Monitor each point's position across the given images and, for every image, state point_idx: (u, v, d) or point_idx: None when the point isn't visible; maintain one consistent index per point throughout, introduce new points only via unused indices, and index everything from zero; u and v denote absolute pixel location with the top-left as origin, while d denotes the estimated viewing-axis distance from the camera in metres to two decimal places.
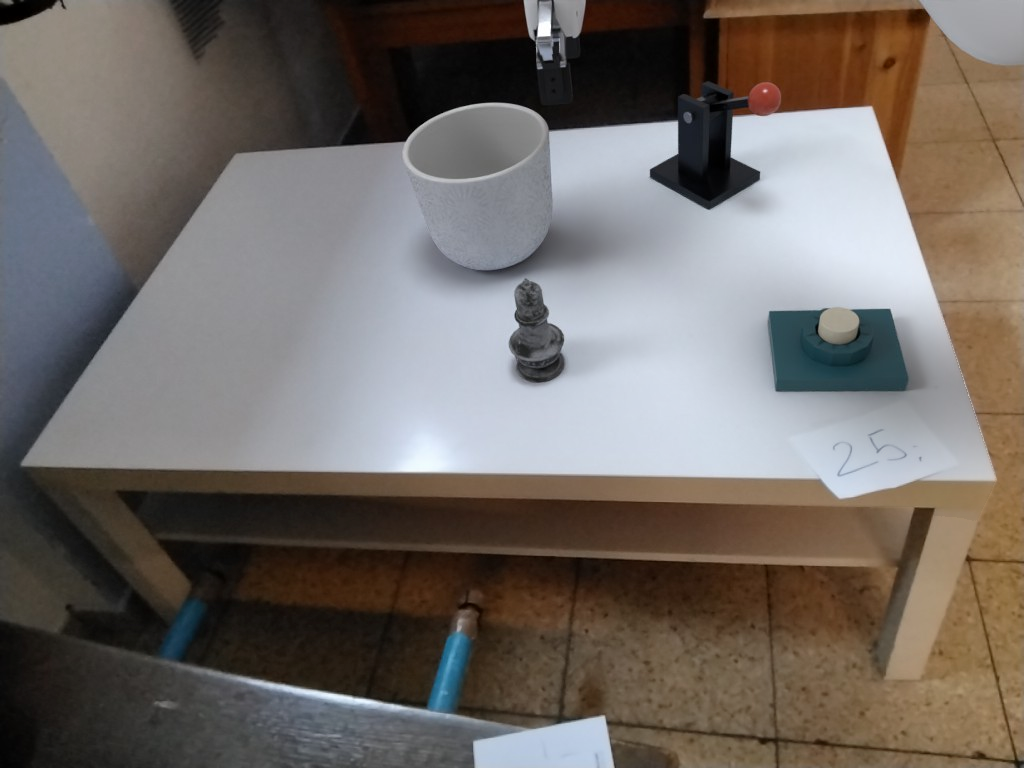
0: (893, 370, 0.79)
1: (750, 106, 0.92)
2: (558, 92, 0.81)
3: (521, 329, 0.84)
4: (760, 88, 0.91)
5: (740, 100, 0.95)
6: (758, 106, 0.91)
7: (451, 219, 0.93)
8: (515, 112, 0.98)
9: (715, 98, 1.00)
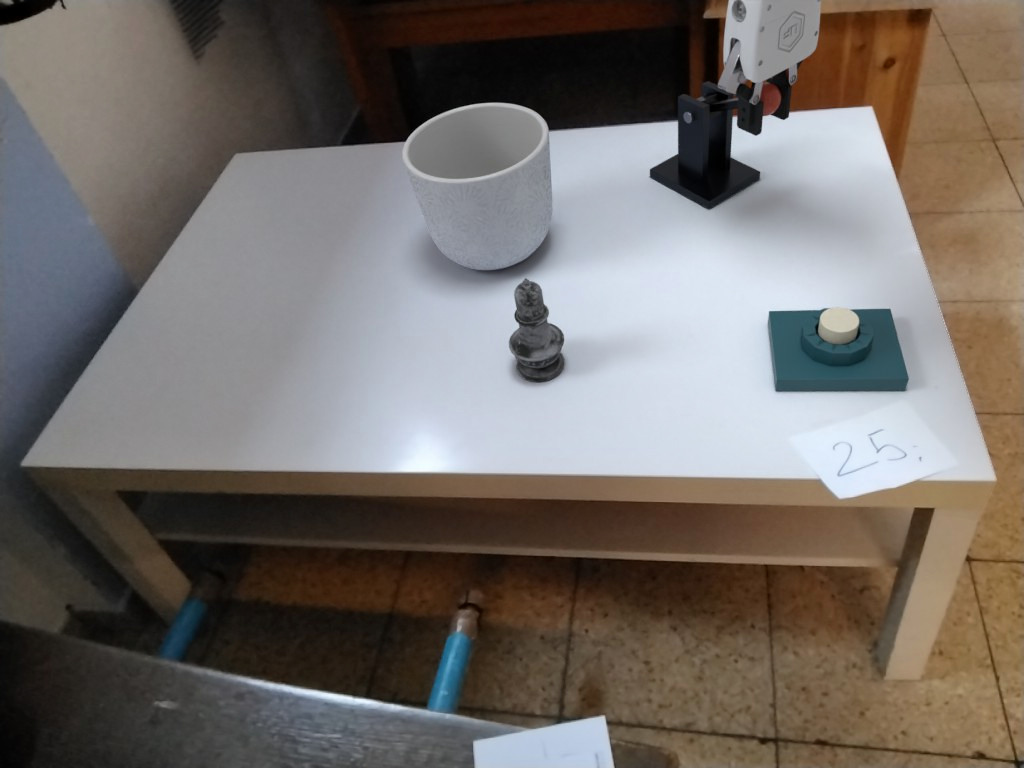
0: (893, 370, 0.79)
1: None
2: (746, 122, 0.92)
3: (521, 329, 0.84)
4: None
5: None
6: None
7: (451, 219, 0.93)
8: (514, 112, 0.98)
9: (715, 98, 1.00)
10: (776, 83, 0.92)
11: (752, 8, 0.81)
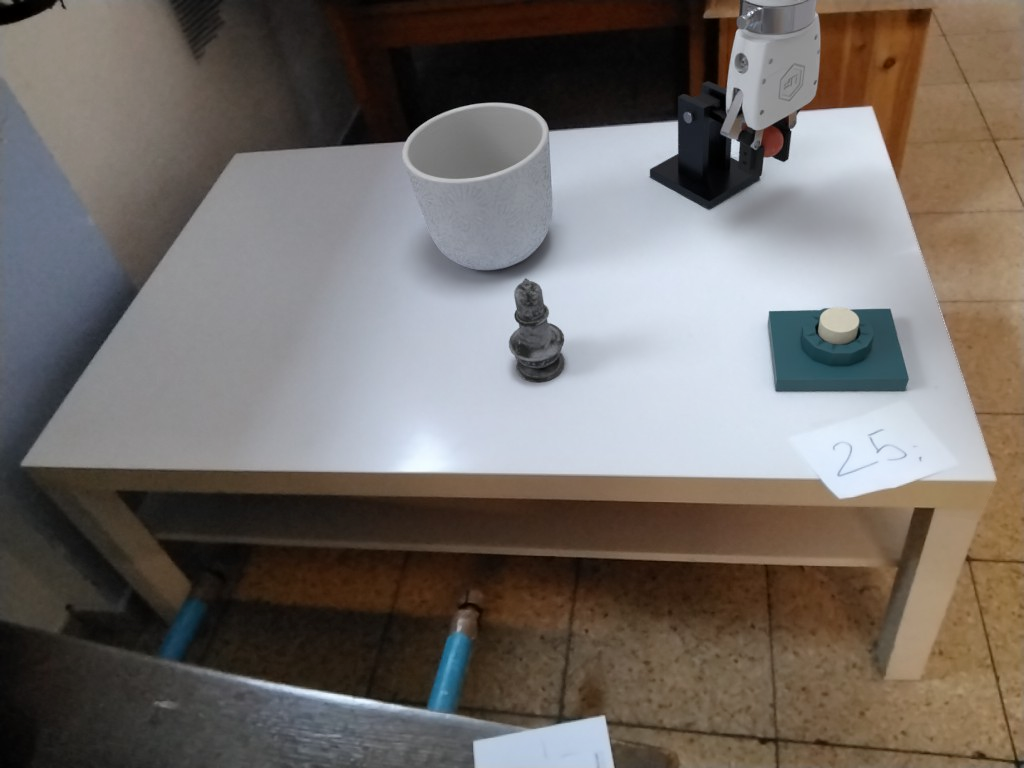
0: (893, 370, 0.79)
1: None
2: (747, 165, 0.96)
3: (521, 329, 0.84)
4: (768, 136, 0.94)
5: None
6: None
7: (451, 219, 0.93)
8: (514, 112, 0.98)
9: (718, 104, 1.00)
10: None
11: (754, 61, 0.85)
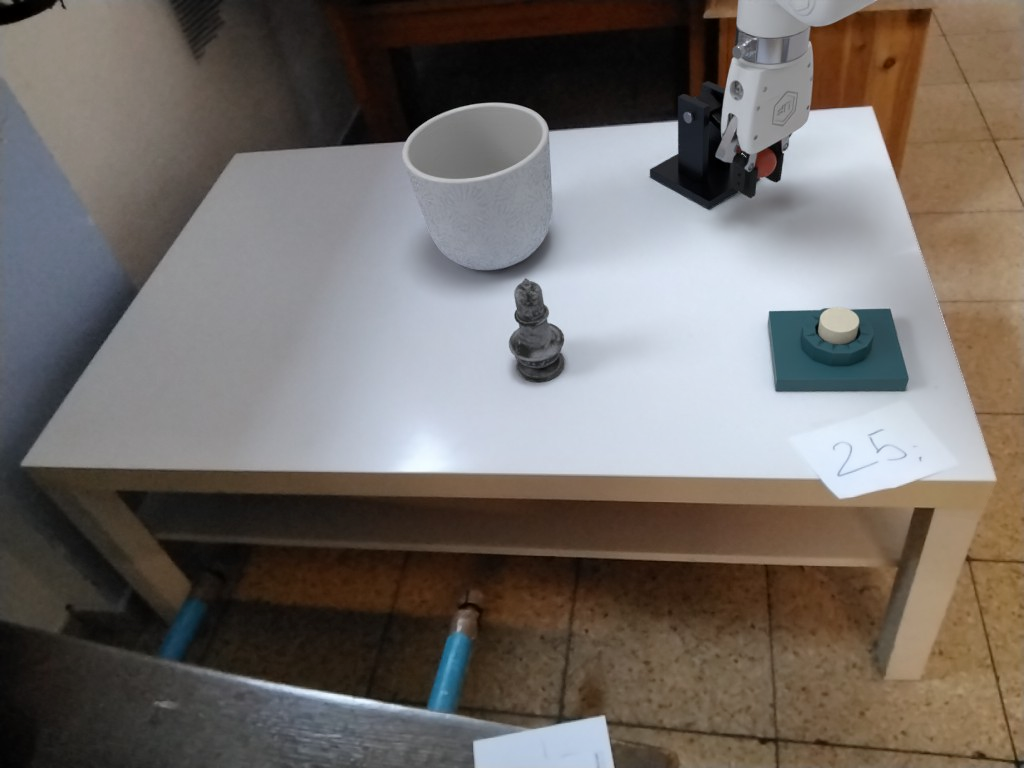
0: (893, 370, 0.79)
1: None
2: (741, 186, 0.98)
3: (521, 329, 0.84)
4: (764, 161, 0.96)
5: None
6: None
7: (451, 219, 0.93)
8: (514, 112, 0.98)
9: (719, 108, 1.00)
10: None
11: (749, 89, 0.87)
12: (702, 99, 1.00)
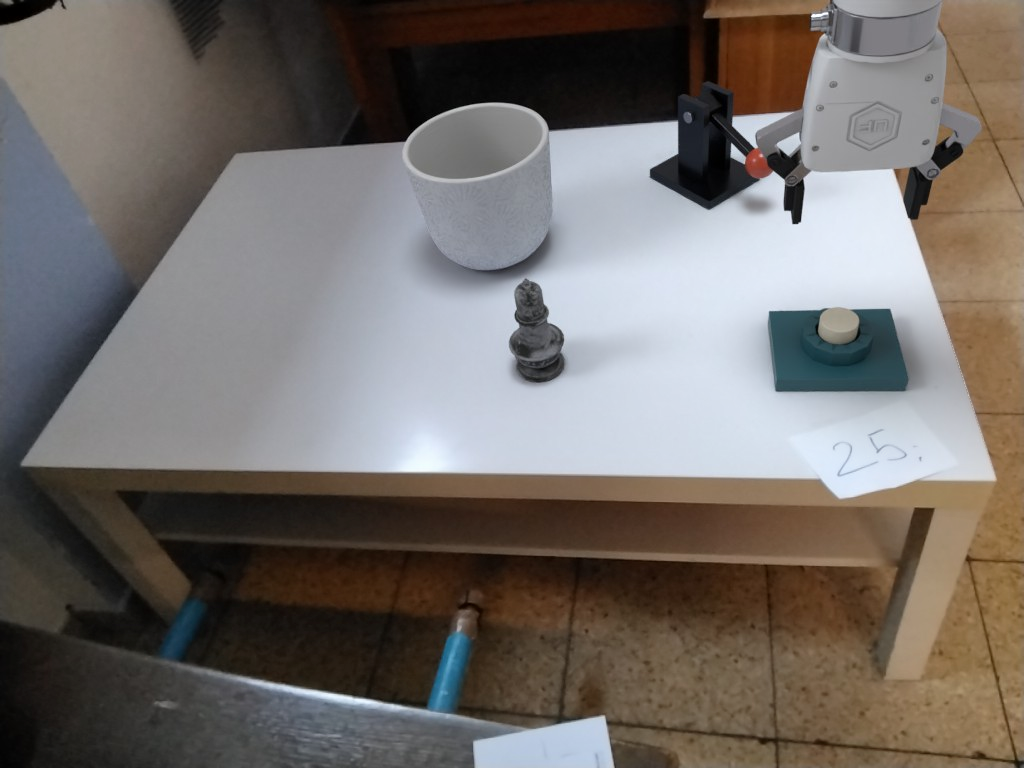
0: (893, 370, 0.79)
1: (747, 166, 0.98)
2: (785, 203, 0.74)
3: (521, 329, 0.84)
4: (764, 161, 0.96)
5: (740, 144, 0.99)
6: (753, 173, 0.98)
7: (451, 219, 0.93)
8: (514, 112, 0.98)
9: (719, 108, 1.00)
10: (916, 170, 0.70)
11: (814, 78, 0.64)
12: (702, 99, 1.00)
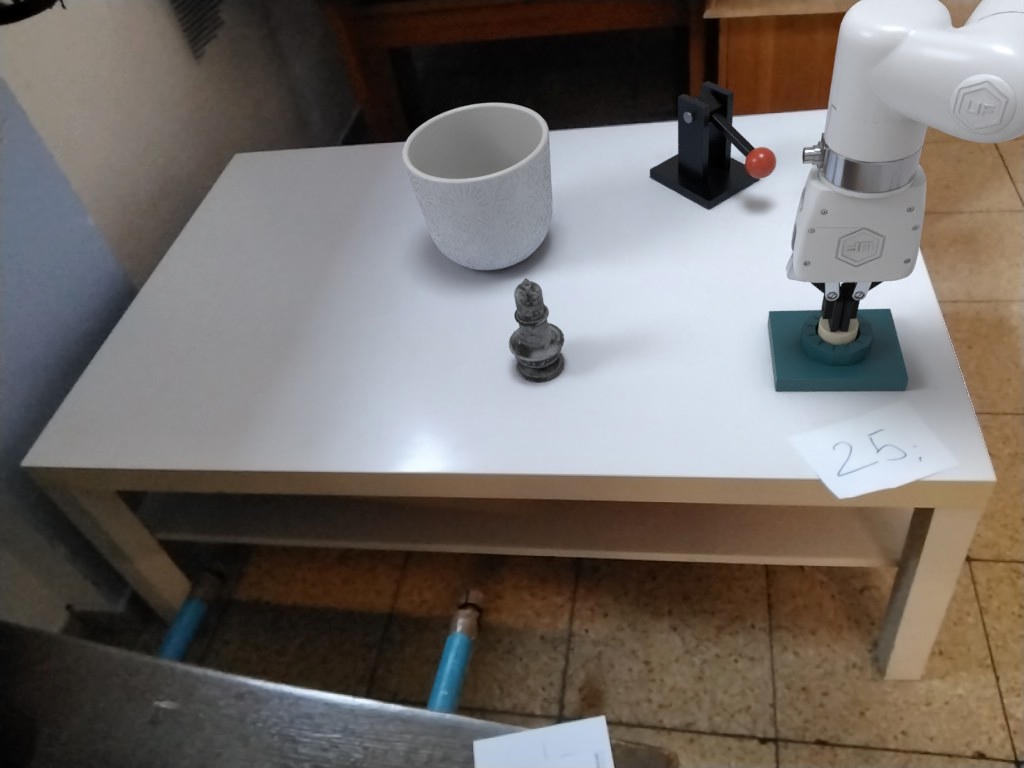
0: (893, 370, 0.79)
1: (747, 166, 0.98)
2: (823, 312, 0.80)
3: (521, 329, 0.84)
4: (764, 161, 0.96)
5: (740, 144, 0.99)
6: (753, 173, 0.98)
7: (451, 219, 0.93)
8: (514, 112, 0.98)
9: (719, 108, 1.00)
10: (845, 289, 0.78)
11: (806, 204, 0.70)
12: (702, 99, 1.00)
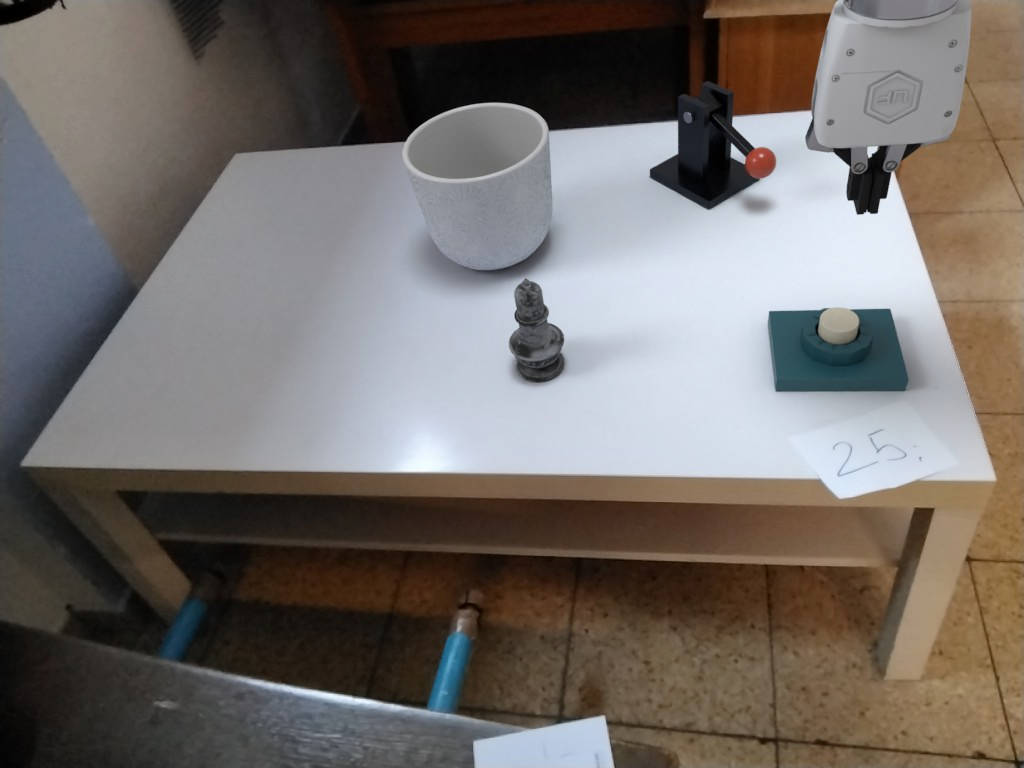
0: (893, 370, 0.79)
1: (747, 166, 0.98)
2: (849, 192, 0.70)
3: (521, 329, 0.84)
4: (764, 161, 0.96)
5: (740, 144, 0.99)
6: (753, 173, 0.98)
7: (451, 219, 0.93)
8: (514, 112, 0.98)
9: (719, 108, 1.00)
10: (874, 162, 0.68)
11: (829, 46, 0.60)
12: (702, 99, 1.00)
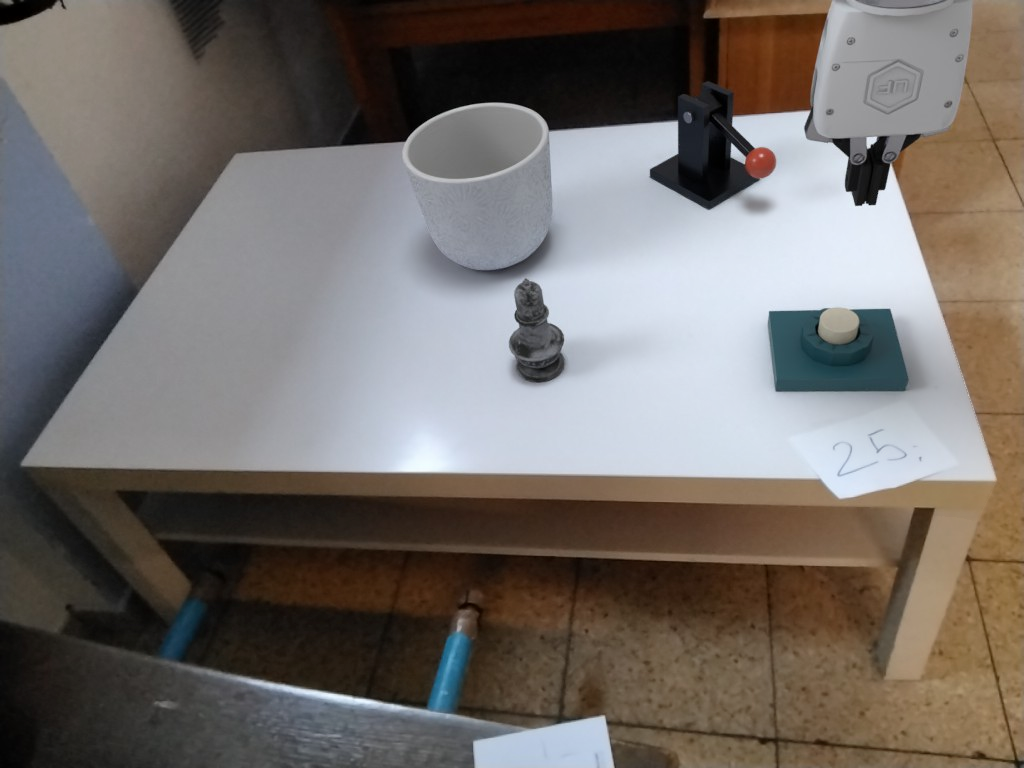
0: (893, 370, 0.79)
1: (747, 166, 0.98)
2: (847, 183, 0.69)
3: (521, 329, 0.84)
4: (764, 161, 0.96)
5: (740, 144, 0.99)
6: (753, 173, 0.98)
7: (451, 219, 0.93)
8: (514, 112, 0.98)
9: (719, 108, 1.00)
10: (873, 153, 0.67)
11: (830, 34, 0.59)
12: (702, 99, 1.00)
